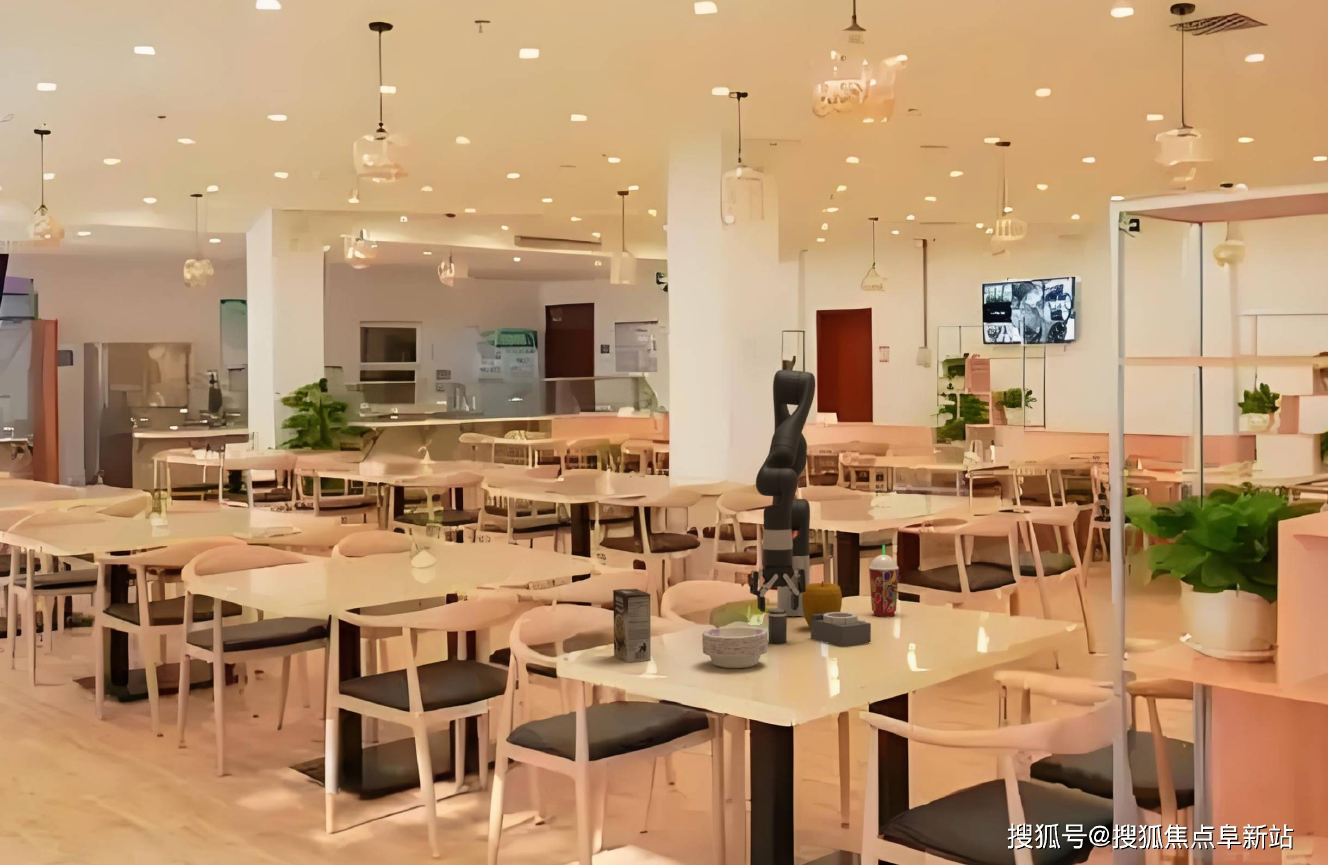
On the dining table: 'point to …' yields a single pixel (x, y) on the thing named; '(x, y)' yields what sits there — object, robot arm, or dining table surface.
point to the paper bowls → (735, 646)
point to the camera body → (840, 628)
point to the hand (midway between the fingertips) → (778, 610)
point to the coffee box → (631, 624)
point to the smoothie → (883, 585)
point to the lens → (777, 626)
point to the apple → (821, 599)
